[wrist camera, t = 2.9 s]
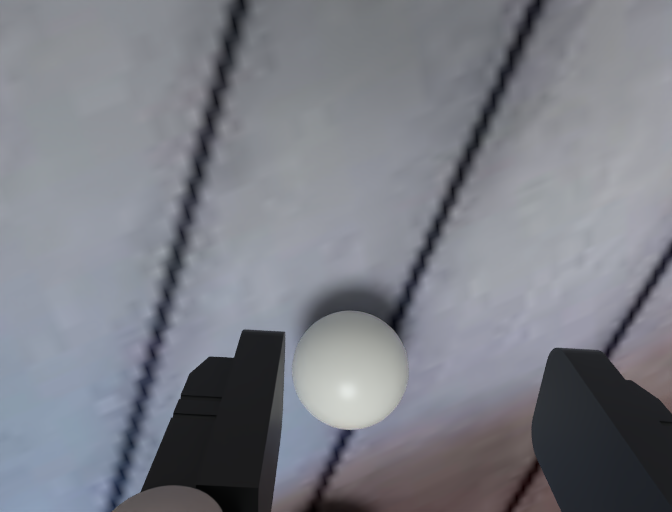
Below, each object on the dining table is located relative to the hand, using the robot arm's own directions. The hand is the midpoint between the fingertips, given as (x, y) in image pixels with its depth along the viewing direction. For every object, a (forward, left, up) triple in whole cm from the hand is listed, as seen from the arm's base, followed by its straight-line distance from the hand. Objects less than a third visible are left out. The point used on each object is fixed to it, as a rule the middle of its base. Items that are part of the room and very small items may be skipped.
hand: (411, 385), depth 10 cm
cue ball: (+9, 0, -15) cm, 17 cm away
